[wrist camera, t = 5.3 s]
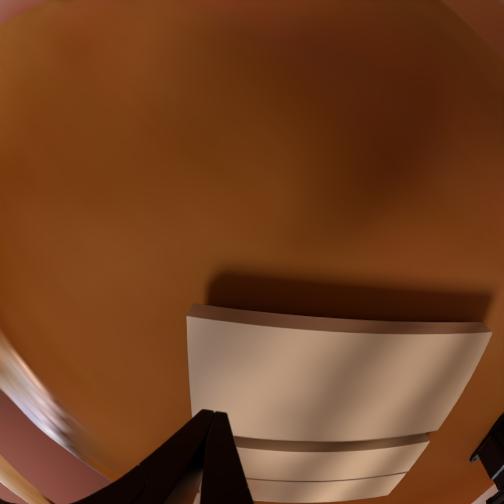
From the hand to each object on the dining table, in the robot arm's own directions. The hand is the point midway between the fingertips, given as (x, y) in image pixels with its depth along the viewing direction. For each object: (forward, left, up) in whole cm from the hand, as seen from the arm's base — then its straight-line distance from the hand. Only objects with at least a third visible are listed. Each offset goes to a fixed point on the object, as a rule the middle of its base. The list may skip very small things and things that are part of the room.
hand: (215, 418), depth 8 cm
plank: (-6, +2, -5) cm, 8 cm away
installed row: (-6, +12, -6) cm, 14 cm away
